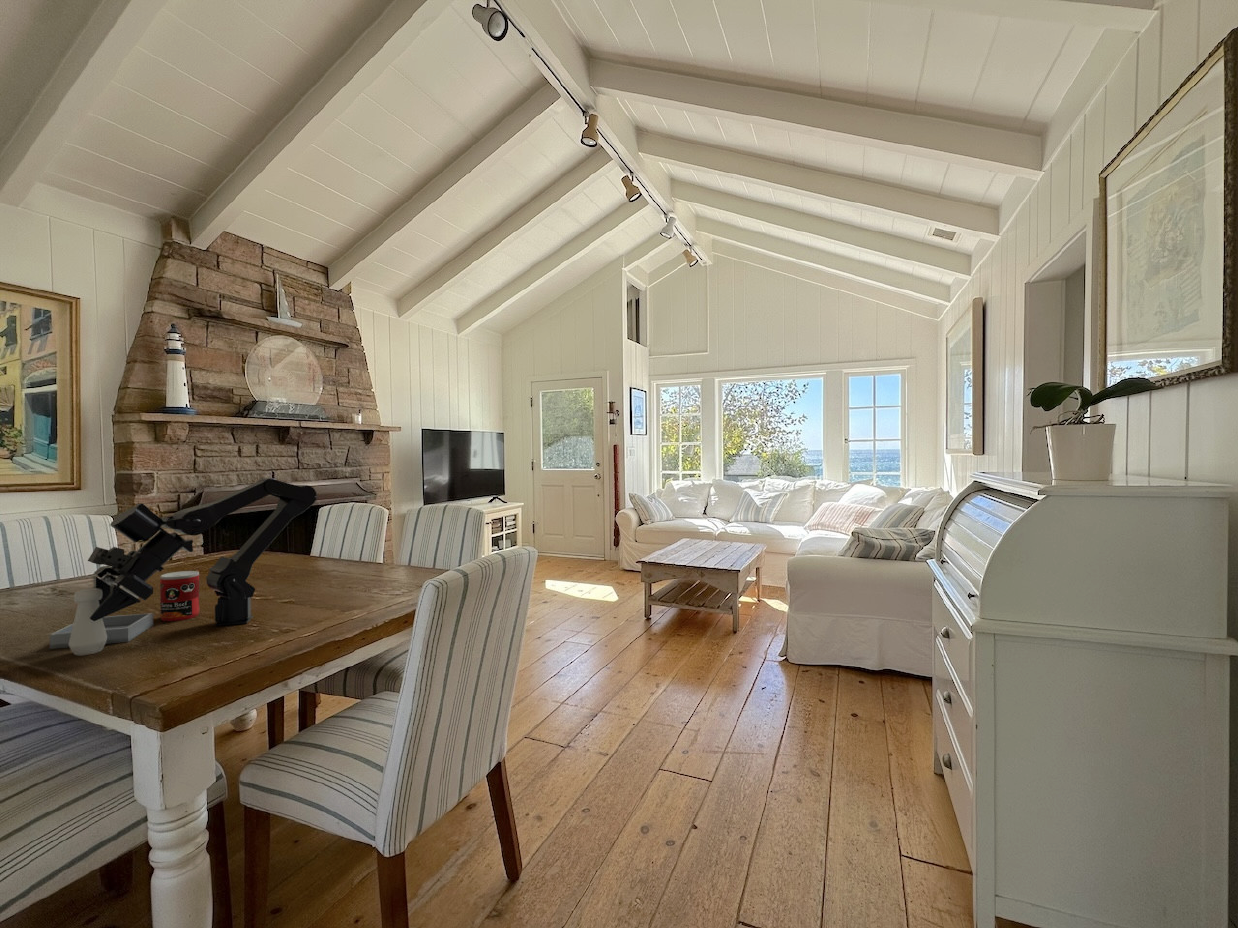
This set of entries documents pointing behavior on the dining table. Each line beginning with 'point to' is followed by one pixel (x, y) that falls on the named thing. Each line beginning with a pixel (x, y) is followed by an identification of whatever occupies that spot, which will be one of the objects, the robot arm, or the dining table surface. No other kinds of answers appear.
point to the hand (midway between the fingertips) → (85, 616)
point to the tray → (109, 629)
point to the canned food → (179, 595)
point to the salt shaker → (87, 624)
